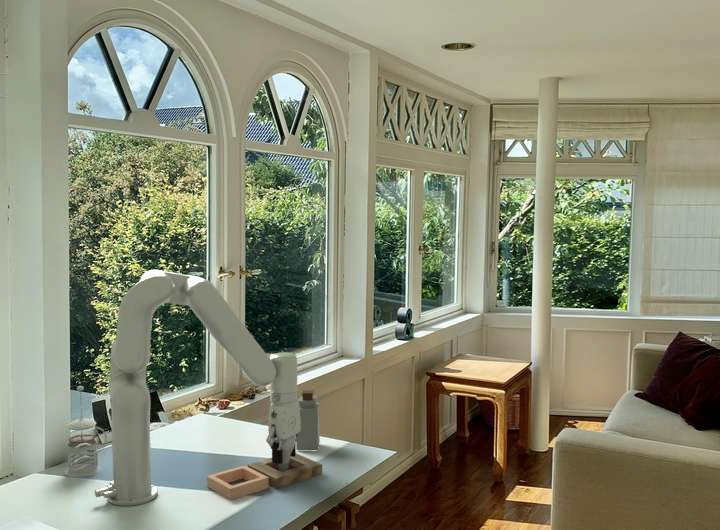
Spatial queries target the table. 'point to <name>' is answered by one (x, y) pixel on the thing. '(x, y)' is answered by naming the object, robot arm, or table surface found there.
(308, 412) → the perfume bottle
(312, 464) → the walnut holder
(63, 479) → the table surface
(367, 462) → the table surface
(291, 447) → the lightbulb
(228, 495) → the terracotta stand
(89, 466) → the french press
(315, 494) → the table surface
